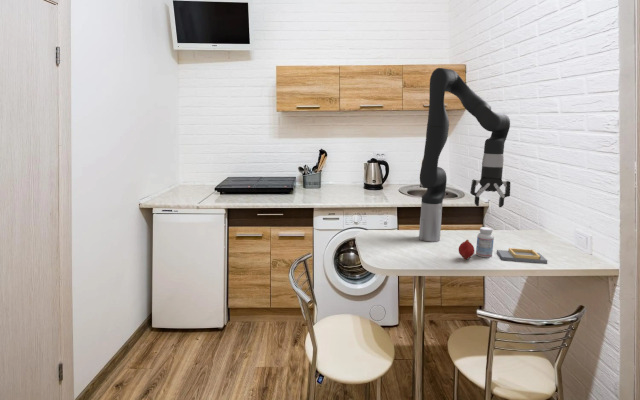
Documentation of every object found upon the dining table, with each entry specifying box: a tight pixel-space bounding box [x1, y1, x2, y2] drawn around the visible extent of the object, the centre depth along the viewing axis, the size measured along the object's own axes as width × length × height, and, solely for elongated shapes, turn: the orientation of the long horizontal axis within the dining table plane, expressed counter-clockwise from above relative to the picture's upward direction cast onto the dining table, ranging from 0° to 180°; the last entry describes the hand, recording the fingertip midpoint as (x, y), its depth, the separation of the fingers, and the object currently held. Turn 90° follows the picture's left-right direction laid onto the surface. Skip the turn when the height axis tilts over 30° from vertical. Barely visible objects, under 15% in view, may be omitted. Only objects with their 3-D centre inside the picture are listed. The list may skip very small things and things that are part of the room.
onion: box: [458, 239, 475, 260], centre depth 156 cm, size 6×6×8 cm
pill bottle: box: [475, 226, 495, 258], centre depth 160 cm, size 6×6×11 cm
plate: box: [496, 247, 548, 264], centre depth 159 cm, size 16×10×2 cm, turn 79°
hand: (488, 206), depth 158 cm, fingers open, 8 cm apart
